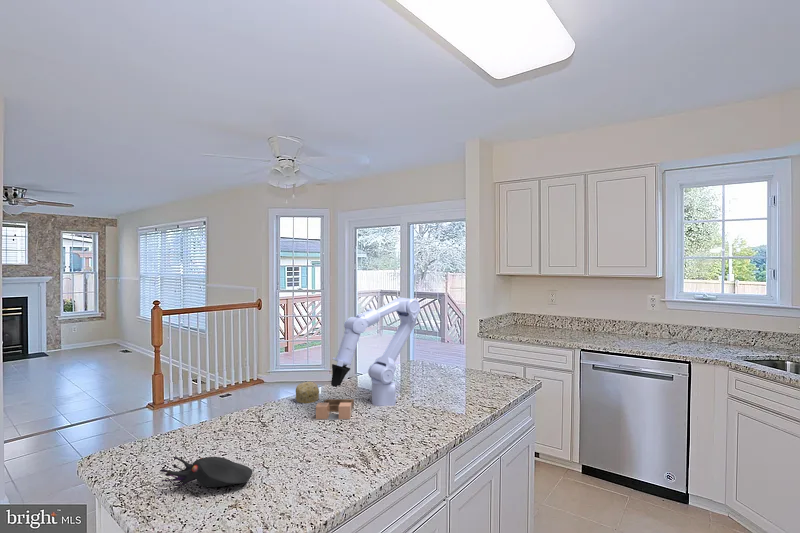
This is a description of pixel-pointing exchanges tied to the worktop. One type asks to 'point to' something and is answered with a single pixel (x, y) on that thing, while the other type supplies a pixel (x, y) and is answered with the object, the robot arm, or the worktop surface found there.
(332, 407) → the walnut bin
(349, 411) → the peach cube
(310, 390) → the coral
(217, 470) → the toy
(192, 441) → the worktop surface
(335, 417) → the slate board
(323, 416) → the tan cube
